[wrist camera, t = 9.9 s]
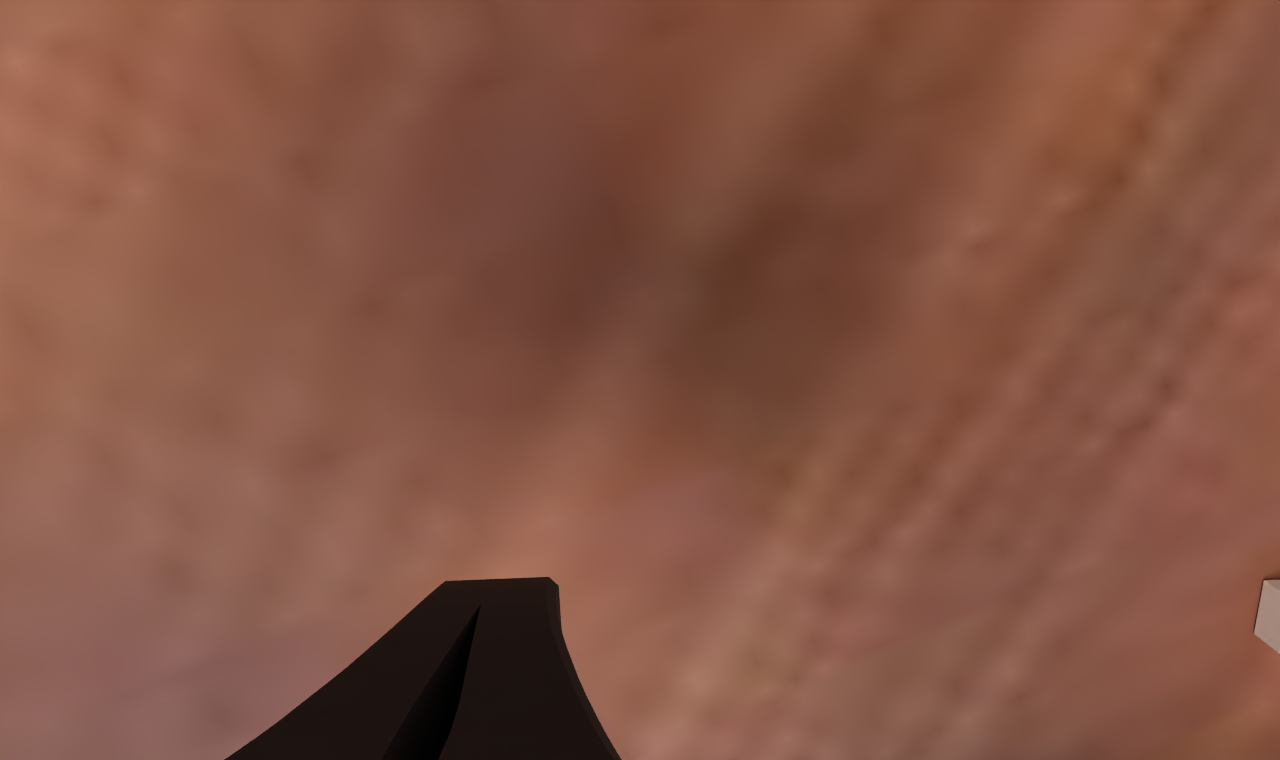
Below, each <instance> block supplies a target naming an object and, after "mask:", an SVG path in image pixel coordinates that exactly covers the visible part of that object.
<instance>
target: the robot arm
mask: <svg viewBox="0 0 1280 760" xmlns="http://www.w3.org/2000/svg"><path fill="white" fill-rule="evenodd" d="M225 760H621V758H620V756H619V755H618V753H617V752H616V750H615V748H614V747H613V745H612V743H611V742H610V740H609V738H608V736H607V735H606V733H605V731H604V729H603V727H602V726H601V724H600V722H599V720H598V718H597V716H596V714H595V712H594V710H593V708H592V706H591V704H590V702H589V700H588V698H587V696H586V694H585V692H584V689H583V687H582V685H581V683H580V680H579V678H578V676H577V673H576V670H575V668H574V665H573V663H572V660H571V657H570V655H569V652H568V649H567V647H566V644H565V640H564V637H563V634H562V630H561V615H560V599H559V586H558V585H557V584H556V583H555V582H554V581H553V580H552V579H550V578H549V577H536V578H511V579H486V580H461V581H445V582H444V583H443V584H441V585H440V586H439V587H437V588H436V589H435V590H434V591H433V592H432V593H430V594H429V595H428V596H427V597H426V598H425V599H424V600H423V601H422V602H420V603H419V604H418V605H417V606H416V607H415V608H414V609H413V610H412V611H410V612H409V613H408V614H407V615H406V616H405V617H404V618H403V619H402V620H400V621H399V622H398V623H397V624H396V625H395V626H394V627H393V628H392V629H390V630H389V631H388V632H387V633H386V634H385V635H384V636H382V637H381V638H380V639H379V640H378V641H377V642H376V643H374V644H373V645H372V646H371V647H370V648H369V649H368V650H366V651H365V652H364V653H363V654H362V655H361V656H360V657H358V658H357V659H356V660H355V661H354V662H353V663H351V664H350V665H349V666H348V667H347V668H346V669H344V670H343V671H342V672H341V673H339V674H338V675H337V676H336V677H334V678H333V679H332V680H331V681H329V682H328V683H327V684H325V685H324V686H323V687H322V688H320V689H319V690H318V691H317V692H315V693H314V694H313V695H311V696H310V697H309V698H308V699H306V700H305V701H304V702H303V703H301V704H300V705H299V706H297V707H296V708H295V709H294V710H292V711H291V712H290V713H289V714H287V715H286V716H285V717H284V718H282V719H281V720H280V721H278V722H277V723H276V724H274V725H273V726H272V727H270V728H269V729H268V730H266V731H265V732H263V733H262V734H261V735H259V736H258V737H257V738H255V739H254V740H252V741H251V742H249V743H248V744H247V745H245V746H244V747H242V748H241V749H239V750H238V751H236V752H235V753H234V754H232V755H231V756H229V757H228V758H226V759H225Z"/></svg>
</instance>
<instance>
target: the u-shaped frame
mask: <svg viewBox="0 0 1280 760" xmlns="http://www.w3.org/2000/svg"><path fill="white" fill-rule="evenodd" d="M1254 634H1255V635H1256V636H1257V637H1258V638H1260V639H1261V640H1262V641H1264V642H1265V643H1266V644H1268V645H1269V646H1270V647H1271V648H1273V649H1274V650H1275V651H1277V652H1278V653H1279V654H1280V580H1264V582H1263V588H1262V593H1261V599H1260V604H1259V609H1258V615H1257V620H1256V625H1255V631H1254Z"/></svg>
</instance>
